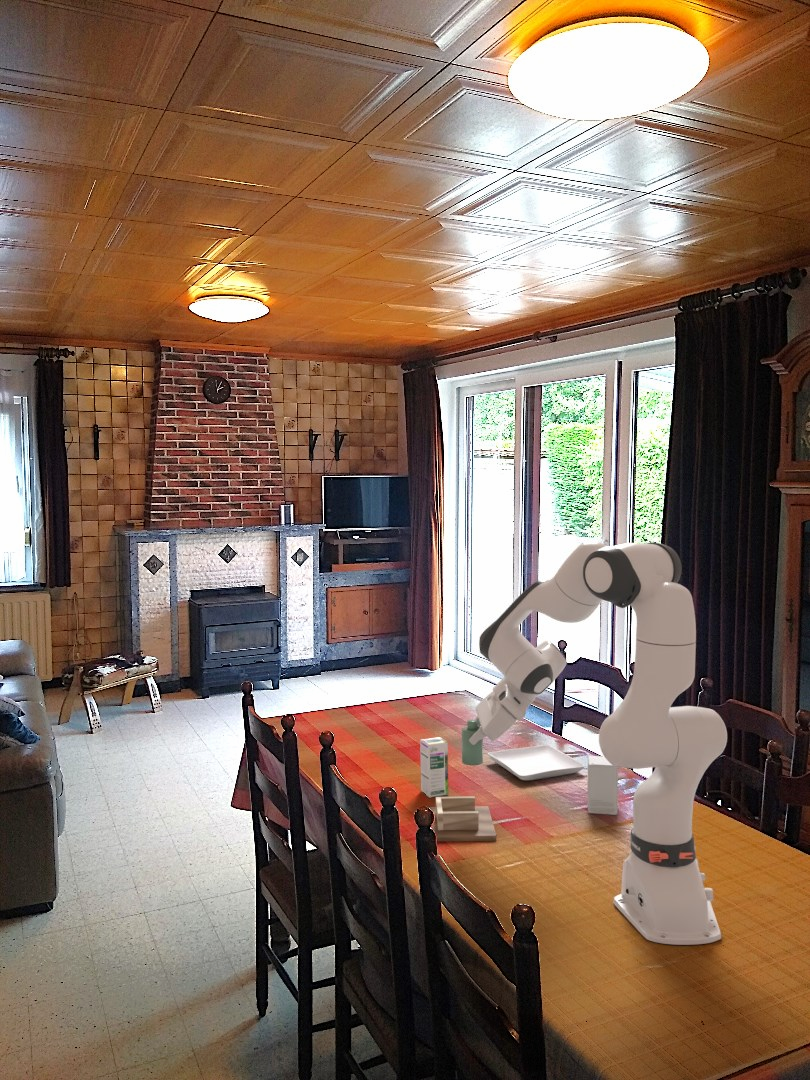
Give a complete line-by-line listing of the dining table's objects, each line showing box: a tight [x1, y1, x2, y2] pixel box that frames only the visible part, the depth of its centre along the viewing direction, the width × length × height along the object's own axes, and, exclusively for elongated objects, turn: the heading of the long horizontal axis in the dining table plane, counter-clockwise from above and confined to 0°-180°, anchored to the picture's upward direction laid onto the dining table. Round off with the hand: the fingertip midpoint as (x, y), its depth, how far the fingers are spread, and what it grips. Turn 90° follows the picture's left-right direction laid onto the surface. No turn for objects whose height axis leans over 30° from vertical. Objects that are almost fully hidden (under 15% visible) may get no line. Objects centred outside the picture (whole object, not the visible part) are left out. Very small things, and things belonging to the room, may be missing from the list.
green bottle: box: [461, 719, 484, 766], centre depth 207 cm, size 5×5×10 cm
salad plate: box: [487, 744, 586, 781], centre depth 251 cm, size 21×21×3 cm
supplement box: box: [586, 755, 619, 816], centre depth 219 cm, size 7×7×13 cm
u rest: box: [426, 795, 497, 842], centre depth 210 cm, size 18×16×5 cm
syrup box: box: [419, 736, 450, 799], centre depth 232 cm, size 6×6×14 cm
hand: (469, 737), depth 207 cm, fingers closed on green bottle, 5 cm apart
